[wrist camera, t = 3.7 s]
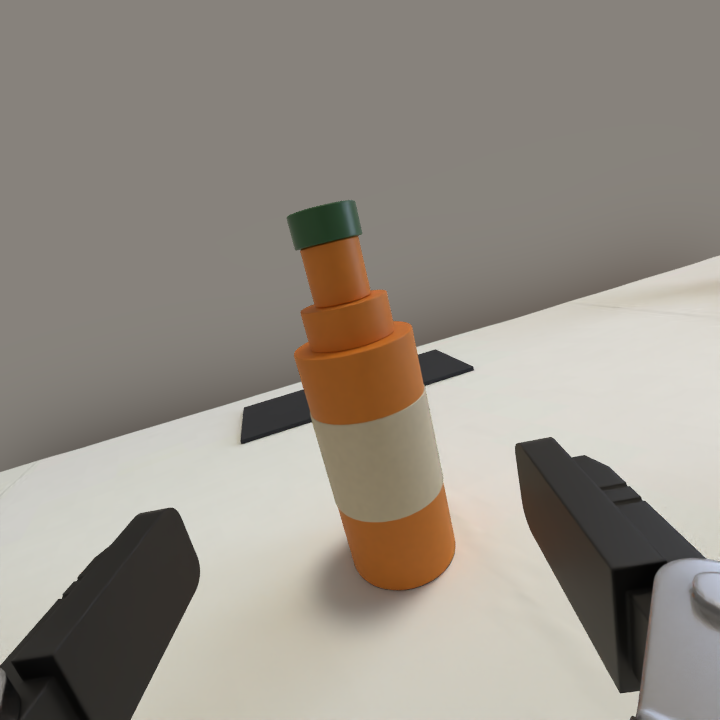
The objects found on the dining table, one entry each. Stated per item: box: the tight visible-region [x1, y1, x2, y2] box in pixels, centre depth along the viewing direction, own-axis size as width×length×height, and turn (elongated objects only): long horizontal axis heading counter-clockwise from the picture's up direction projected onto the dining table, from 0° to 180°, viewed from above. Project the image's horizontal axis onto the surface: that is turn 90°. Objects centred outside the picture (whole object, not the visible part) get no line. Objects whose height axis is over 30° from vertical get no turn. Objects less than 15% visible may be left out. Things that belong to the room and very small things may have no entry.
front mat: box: [241, 350, 474, 443], centre depth 47 cm, size 26×10×1 cm, turn 104°
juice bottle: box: [287, 200, 455, 590], centre depth 20 cm, size 6×6×18 cm
